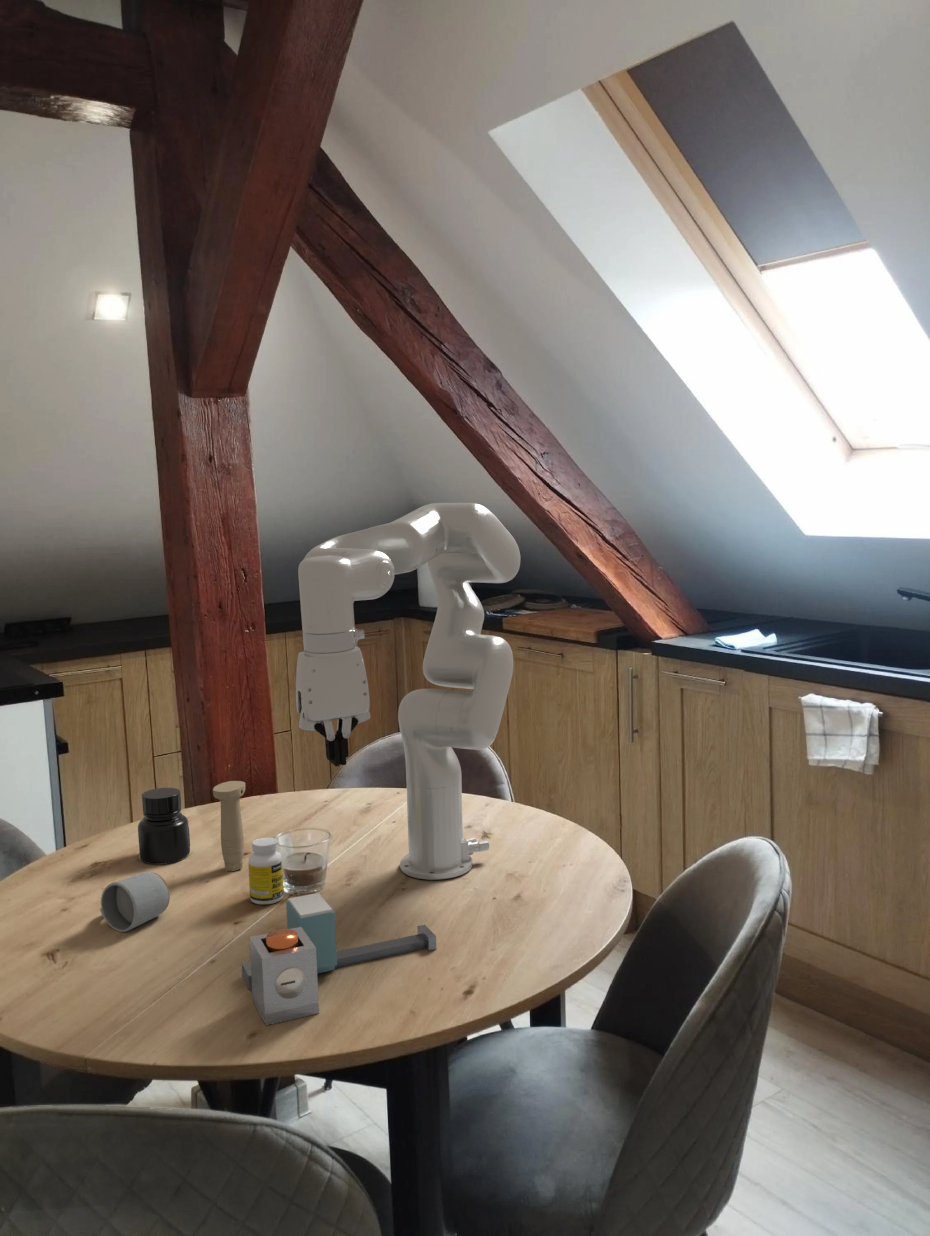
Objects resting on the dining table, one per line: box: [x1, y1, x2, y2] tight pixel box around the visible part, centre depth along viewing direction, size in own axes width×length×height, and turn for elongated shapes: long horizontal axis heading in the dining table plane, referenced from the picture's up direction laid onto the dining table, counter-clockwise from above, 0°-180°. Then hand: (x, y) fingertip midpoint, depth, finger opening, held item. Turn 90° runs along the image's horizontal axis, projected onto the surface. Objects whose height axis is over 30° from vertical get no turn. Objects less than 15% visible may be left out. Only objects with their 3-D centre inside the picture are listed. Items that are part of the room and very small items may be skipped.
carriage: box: [285, 892, 337, 975], centre depth 152 cm, size 5×7×9 cm
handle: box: [212, 780, 246, 872], centre depth 190 cm, size 5×6×15 cm
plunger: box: [266, 928, 298, 953], centre depth 141 cm, size 4×4×8 cm
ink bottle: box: [137, 787, 191, 865], centre depth 197 cm, size 10×9×12 cm
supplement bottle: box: [247, 837, 284, 905], centre depth 177 cm, size 5×5×10 cm
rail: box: [241, 924, 437, 991], centre depth 154 cm, size 27×4×2 cm, turn 114°
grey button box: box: [248, 927, 320, 1027], centre depth 141 cm, size 7×7×9 cm
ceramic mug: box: [99, 871, 171, 933], centre depth 170 cm, size 11×8×8 cm
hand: (338, 763), depth 160 cm, fingers closed
